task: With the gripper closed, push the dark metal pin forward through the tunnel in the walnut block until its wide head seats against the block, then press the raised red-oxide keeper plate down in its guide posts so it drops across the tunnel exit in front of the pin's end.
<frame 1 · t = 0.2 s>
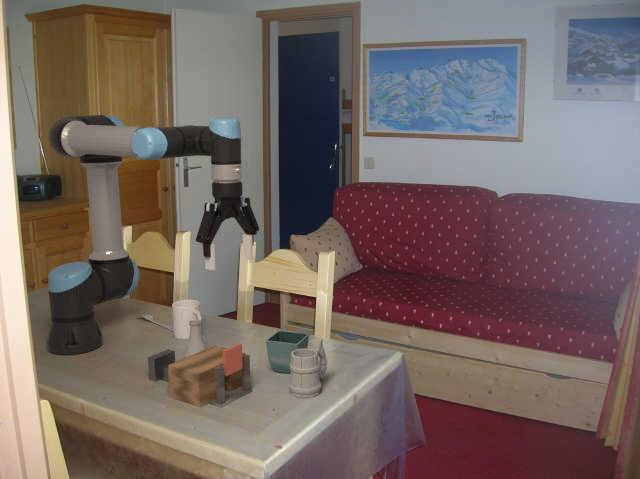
hand: (229, 264, 177), 27 cm above the table, tool pointing down, fingers open, 13 cm apart
flask: (196, 357, 190), on the table
block: (208, 390, 167), on the table
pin: (162, 376, 176), on the table
flower pot: (288, 370, 180), on the table
keeper: (232, 359, 161), point 9 cm above the table, slide at 0.0 cm
mug 2: (191, 337, 206), on the table
fork: (156, 325, 219), on the table
mug: (310, 390, 168), on the table
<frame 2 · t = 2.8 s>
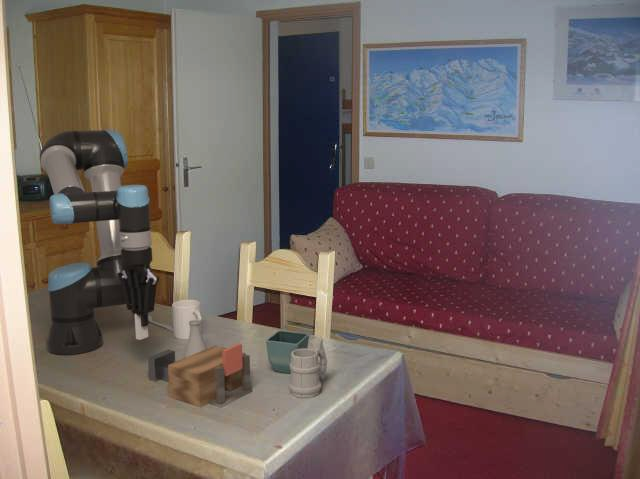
hand: (142, 337, 178), 9 cm above the table, tool pointing down, fingers closed
nothing on the table moved.
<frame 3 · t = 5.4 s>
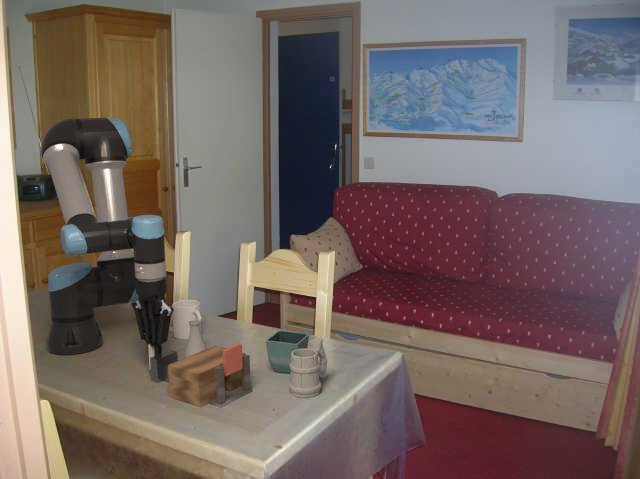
hand: (155, 368, 177), 2 cm above the table, tool pointing down, fingers closed
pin: (164, 377, 176), on the table, touching gripper
everything else where it was.
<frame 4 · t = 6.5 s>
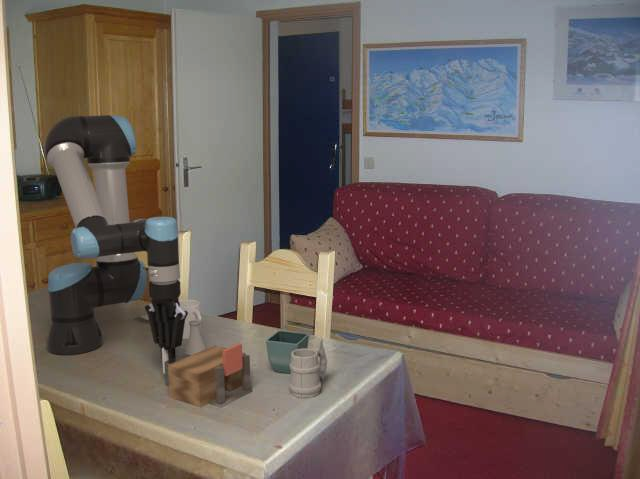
hand: (169, 372, 174), 2 cm above the table, tool pointing down, fingers closed
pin: (179, 381, 173), on the table, touching gripper
everything else where it was.
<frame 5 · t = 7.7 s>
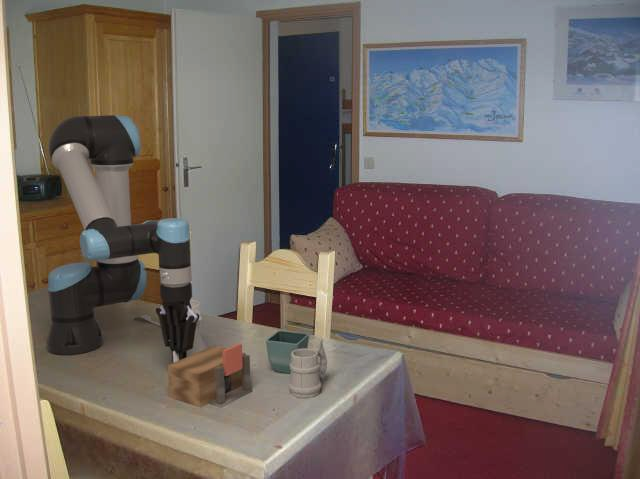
hand: (180, 375, 172), 2 cm above the table, tool pointing down, fingers closed
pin: (190, 384, 171), on the table, touching block, gripper
everything else where it was.
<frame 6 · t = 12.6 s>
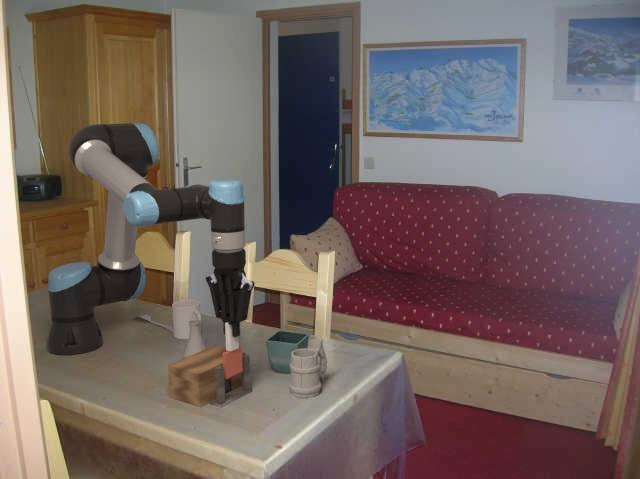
hand: (232, 349, 161), 12 cm above the table, tool pointing down, fingers closed
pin: (190, 384, 171), on the table
keeper: (232, 362, 161), point 9 cm above the table, slide at 0.7 cm, touching gripper
everything else where it was.
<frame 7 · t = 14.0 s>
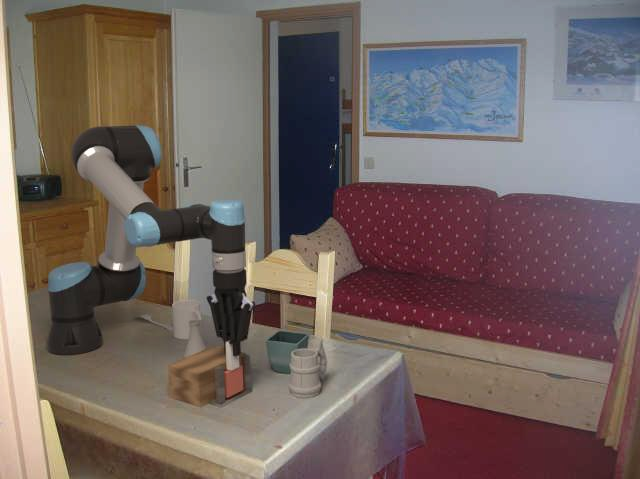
hand: (233, 368, 161), 7 cm above the table, tool pointing down, fingers closed
keeper: (233, 381, 162), point 4 cm above the table, slide at 5.3 cm, touching gripper
everything else where it was.
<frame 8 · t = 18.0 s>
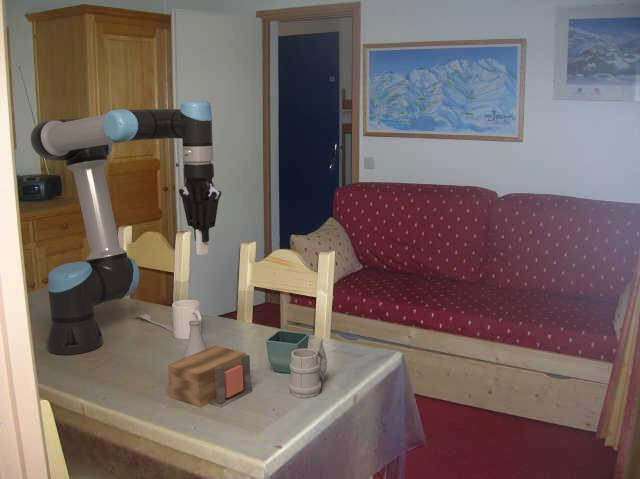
hand: (202, 253, 181), 29 cm above the table, tool pointing down, fingers closed
keeper: (233, 381, 162), point 4 cm above the table, slide at 5.3 cm
everything else where it was.
at the end: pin 0.6 cm from the target spot on the block, point 0.0 cm above the block's base; keeper slide at 5.3 cm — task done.
